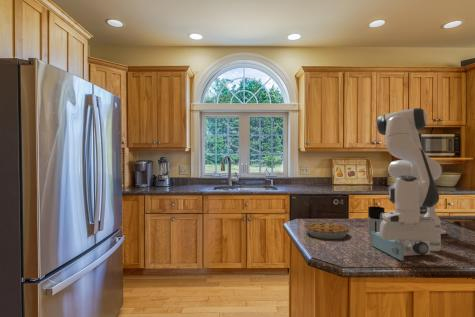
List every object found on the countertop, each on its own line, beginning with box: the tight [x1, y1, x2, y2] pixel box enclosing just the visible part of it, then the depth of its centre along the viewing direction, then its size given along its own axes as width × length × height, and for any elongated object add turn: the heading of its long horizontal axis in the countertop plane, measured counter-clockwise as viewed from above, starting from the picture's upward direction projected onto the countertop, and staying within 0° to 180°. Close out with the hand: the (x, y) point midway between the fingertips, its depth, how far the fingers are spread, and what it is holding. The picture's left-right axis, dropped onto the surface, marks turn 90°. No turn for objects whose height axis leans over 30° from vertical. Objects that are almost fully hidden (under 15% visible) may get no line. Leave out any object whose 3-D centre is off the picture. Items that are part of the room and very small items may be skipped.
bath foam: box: [424, 204, 442, 252], centre depth 132 cm, size 7×7×20 cm
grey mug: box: [366, 205, 386, 239], centre depth 149 cm, size 9×14×15 cm, turn 176°
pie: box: [305, 222, 350, 240], centre depth 158 cm, size 22×22×5 cm
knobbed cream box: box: [376, 232, 431, 256], centre depth 129 cm, size 16×16×7 cm
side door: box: [371, 231, 405, 262], centre depth 126 cm, size 2×21×7 cm, turn 6°
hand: (407, 250), depth 120 cm, fingers closed
